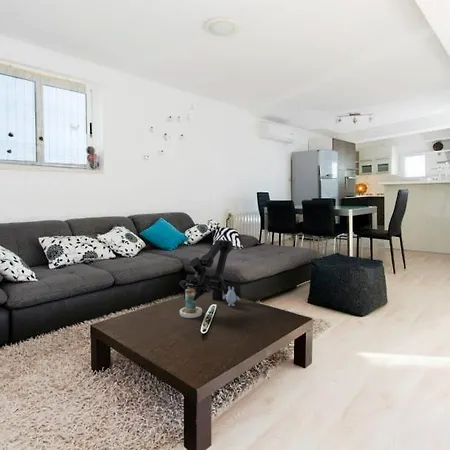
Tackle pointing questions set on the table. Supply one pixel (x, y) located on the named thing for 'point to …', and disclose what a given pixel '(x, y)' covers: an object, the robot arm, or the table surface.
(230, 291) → the toy figure
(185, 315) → the ceramic dish
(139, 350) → the table surface
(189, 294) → the disc
